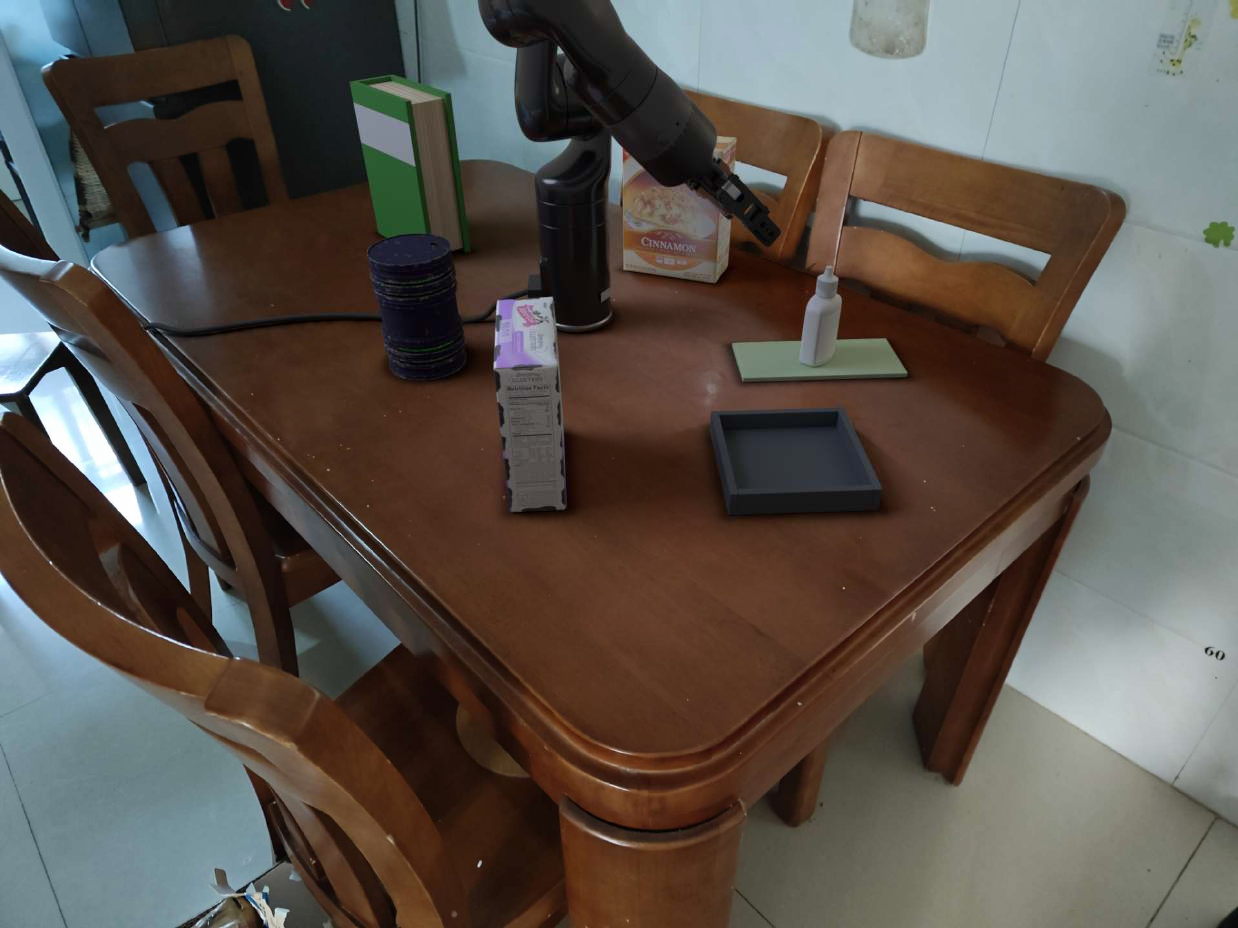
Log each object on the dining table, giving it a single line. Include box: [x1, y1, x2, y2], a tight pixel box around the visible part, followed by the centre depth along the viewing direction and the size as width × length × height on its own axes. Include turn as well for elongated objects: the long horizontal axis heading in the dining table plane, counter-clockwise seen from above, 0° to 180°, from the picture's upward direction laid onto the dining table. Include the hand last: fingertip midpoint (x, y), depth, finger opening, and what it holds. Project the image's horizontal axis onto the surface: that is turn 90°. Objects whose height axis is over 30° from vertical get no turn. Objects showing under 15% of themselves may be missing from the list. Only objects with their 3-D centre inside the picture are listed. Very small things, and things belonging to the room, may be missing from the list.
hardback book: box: [349, 74, 472, 254], centre depth 131 cm, size 18×7×24 cm, turn 40°
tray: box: [709, 406, 884, 516], centre depth 85 cm, size 15×15×3 cm
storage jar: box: [366, 233, 467, 382], centre depth 100 cm, size 10×10×15 cm
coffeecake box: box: [622, 135, 738, 284], centre depth 122 cm, size 15×7×20 cm, turn 68°
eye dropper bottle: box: [799, 265, 843, 367], centre depth 99 cm, size 4×6×12 cm
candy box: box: [493, 297, 568, 513], centre depth 81 cm, size 14×6×16 cm, turn 5°
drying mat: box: [731, 337, 908, 383], centre depth 103 cm, size 20×9×1 cm, turn 92°
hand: (753, 225), depth 89 cm, fingers open, 8 cm apart
